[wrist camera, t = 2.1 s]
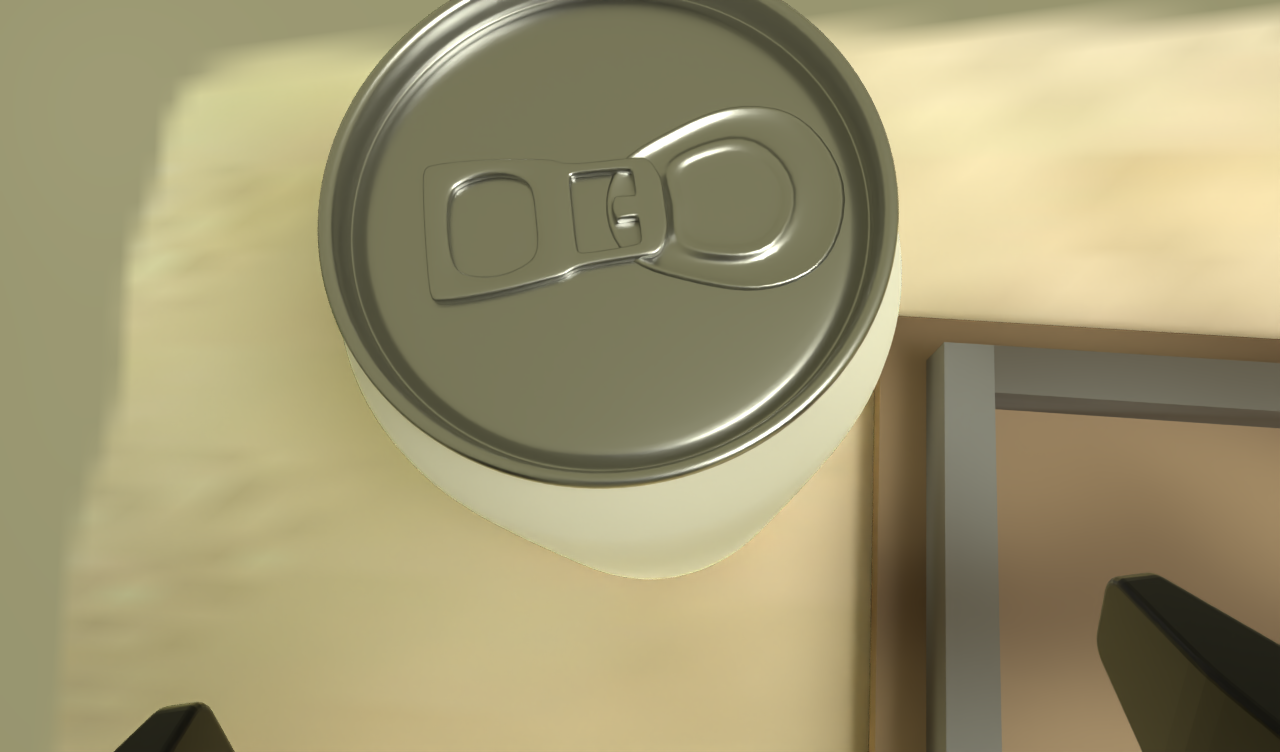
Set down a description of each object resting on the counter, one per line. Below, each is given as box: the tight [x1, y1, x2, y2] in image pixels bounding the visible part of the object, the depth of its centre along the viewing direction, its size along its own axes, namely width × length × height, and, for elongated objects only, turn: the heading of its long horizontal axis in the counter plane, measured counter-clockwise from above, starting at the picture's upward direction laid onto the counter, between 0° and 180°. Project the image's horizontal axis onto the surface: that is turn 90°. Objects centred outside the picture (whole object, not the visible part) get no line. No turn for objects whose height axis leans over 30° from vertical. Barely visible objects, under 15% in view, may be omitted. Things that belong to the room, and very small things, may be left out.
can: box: [318, 0, 902, 579], centre depth 14 cm, size 6×6×12 cm
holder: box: [869, 316, 1280, 752], centre depth 17 cm, size 14×14×2 cm
